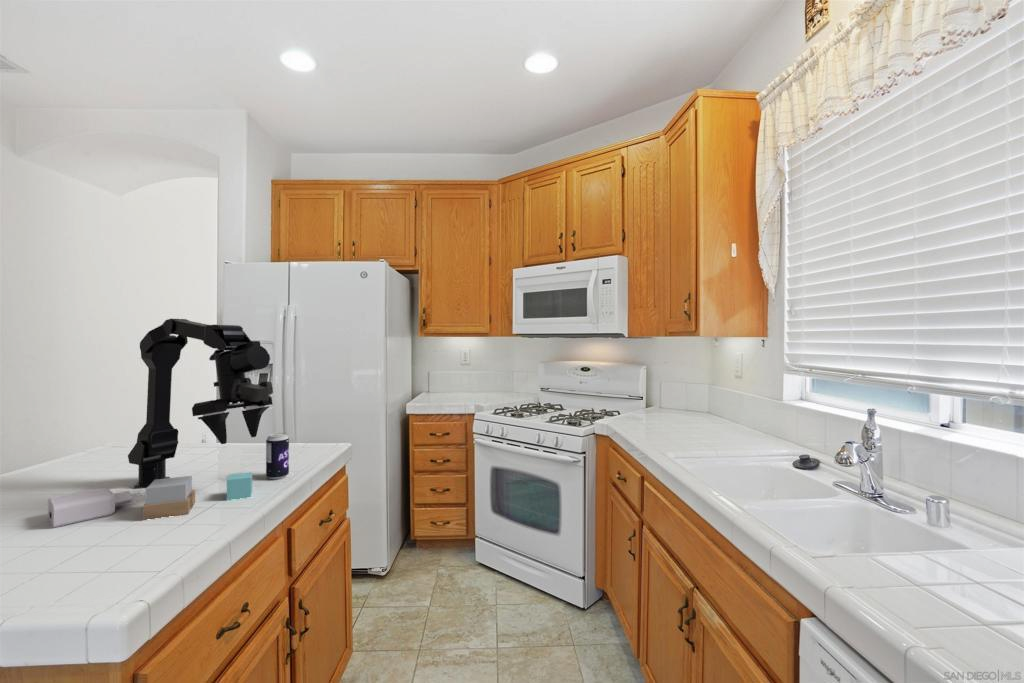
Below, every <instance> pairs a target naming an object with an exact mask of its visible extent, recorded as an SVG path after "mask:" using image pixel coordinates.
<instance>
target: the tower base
mask: <svg viewBox="0 0 1024 683" xmlns="http://www.w3.org/2000/svg"><path fill="white" fill-rule="evenodd" d="M194 503H196V489H192V491H191V492H190V494H189V496H188V497H187V499H186V500H182V501H174V502H166V503H158V504H150V505H146V502H145V503H144V504H143V505H142V521H143V520H144V521H148V520H147V519H151V520H156V519H155V518H159V519H162V518H161V517H166V518H170V517H169V516H174V517H181V516H187V514H188V515H189V514H190V512H191V511H192V509H193V507H194V506H195V504H194ZM193 505H194V506H193ZM190 510H191V511H190ZM180 515H181V516H180Z"/></svg>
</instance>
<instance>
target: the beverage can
mask: <svg viewBox="0 0 1024 683" xmlns="http://www.w3.org/2000/svg"><path fill="white" fill-rule="evenodd" d="M265 445H266V446H265V447H266V448H265V450H266V451H265V467H266V468H265V477H267V478H268V479H269V480H271V479H277V480H281V478H282V479H285V478H286V477H287V476H288V475H289V472H290V447H289V446H290V437H289V436H288V433H285V432H277V433H271V434H268V435H267V438H266V440H265ZM284 477H285V478H284Z"/></svg>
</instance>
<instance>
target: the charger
mask: <svg viewBox="0 0 1024 683" xmlns="http://www.w3.org/2000/svg"><path fill="white" fill-rule="evenodd" d="M142 496H143V493H141V492H140V491H139V492H134V493H133V492H132V493H131V492H130V490H127V491H126V490H125V491H121V492H115V493H113V492H112V491H111V490H110V489H109V488H105V487H100V488H96V489H91V490H83V491H80V492H79V491H78V492H73V493H68V494H63V495H57V496H51V497H48V500H47V501H48V502H47V503H48V505H47V506H48V510H47V511H48V512H47V513H48V519H50V520H49V522H50V521H51V522H50V524H51V523H52V524H51V526H52V525H53V526H52V528H53V527H55V528H58V527H59V526H60V527H64V526H67V525H68V524H69V525H72V523H73V524H77V522H78V523H81V521H82V522H85V521H86V520H87V521H91V520H94V519H95V518H96V519H99V518H104V517H108V516H111V515H112V514H114V513H115V512H116V506H117V507H118V506H121V505H126V504H130V503H132V502H133V498H137V497H142ZM50 517H51V518H50ZM90 519H91V520H90ZM63 525H64V526H63ZM69 525H68V526H69Z"/></svg>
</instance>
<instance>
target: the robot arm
mask: <svg viewBox="0 0 1024 683" xmlns="http://www.w3.org/2000/svg"><path fill="white" fill-rule="evenodd" d="M243 329H244V328H243V327H242V326H241V325H237V324H235V325H234V324H206V323H201V322H196V321H192V320H190V319H186V318H169V319H165V321H163V323H162V324H160V325H159V326H157V327H155V328H153V329H150V330H149V331H148V332H147V333H146V334H145V335H144V337H143V338H142V339H141V340H140V342H139V349H140V358H141V360H142V362H143V363H144V364H145V366H146V367H147V368H148V372H147V373H148V374H147V375H148V376H147V398H146V422H145V423H144V425H143V426H142V428H141V429H140V431H139V432H138V434H137V438H136V443H135V444H134V446H133V447H132V449H131V450H130V452H129V453H128V454H127V460H128V463H129V464H131V465H136V466H138V481H137V482H136V483H135V484H134V485H133V488H134V489H136V488H147V487H148V486H149V485H150V484H151V483H152V482H153V481H154V480H156V479H166V478H171V477H170V476H166V475H167V473H166V470H167V468H166V464H167V460H168V459H173V458H175V457H176V456H175V455H176V452H177V448H178V444H179V437H178V436H179V430H178V429H177V428H175V427H174V426H173V425H172V423H171V418H170V417H171V399H172V378H173V376H172V375H173V368H174V367H175V365H177V363H178V362H179V361H180V359H181V352H182V350H183V349H184V348H185V346H187V344H188V343H189V342H188V341H189V340H188V338H191V339H194V340H199V341H202V342H203V344H204V345H205V346H207V347H209V348H211V349H215V350H214V352H213V353H212V354H211V355H210V356H209V358H208V360H209V361H215V362H214V363H215V369H216V378H217V381H215V382H213V387H218V391H219V392H218V393H219V398H218V399H213V400H208V401H207V400H206V401H200V402H196V403H194V404H193V406H192V407H191V412H192V413H191V414H192V417H197V420H201V421H202V422H203V423H204V424H205V426H207V428H209V430H210V432H212V433H213V435H214V436H215V437H216V439H217V440H218V442H219V443H220V444H221V445H225V444H227V442H228V441H227V438H228V436H227V424H226V423H227V422H226V421H227V420H226V419H227V418H228V416H229V414H230V412H229V411H228V412H226V411H227V410H232V409H239V408H243V409H244V410H241V413H242V416H243V419H244V422H245V424H246V428H247V431H248V433H249V435H250V437H251V438H255V437H257V434H258V430H259V427H260V421H261V418H262V416H263V414H264V412H266V411H267V409H270V405H273V397H272V396H271V395H272V394H274V391H273V390H274V388H273V383H272V381H269V380H268V381H267V380H266V381H261V382H260V383H258V384H256V383H255V384H254V383H252V380H251V378H250V377H246V374H247V373H251V372H254V371H259V370H263V369H265V368H267V367H268V366H269V364H270V361H271V359H270V358H271V355H270V354H269V352H268V351H267V349H266V348H265V347H263V346H262V345H261V341H260V340H251V338H249V336H248V335H247V333H246V332H245V331H244V330H243ZM176 335H177V336H176ZM245 373H246V374H245Z"/></svg>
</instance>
